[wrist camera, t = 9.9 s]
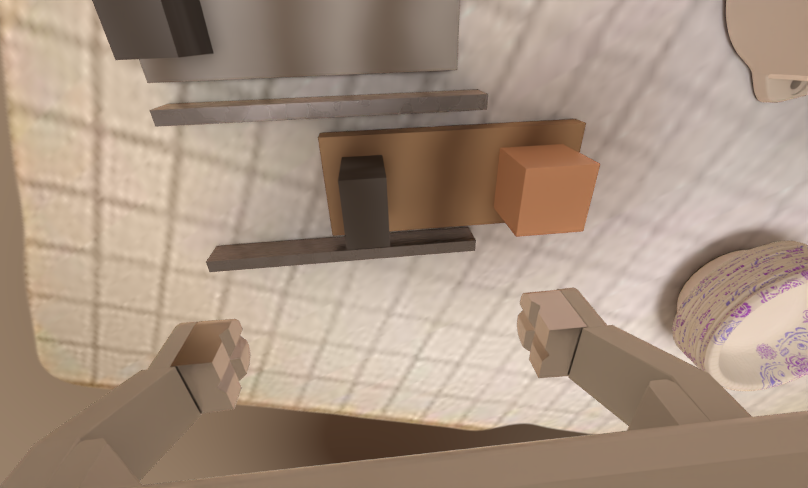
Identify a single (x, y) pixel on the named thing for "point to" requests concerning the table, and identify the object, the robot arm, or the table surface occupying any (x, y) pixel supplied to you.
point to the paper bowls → (748, 317)
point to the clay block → (544, 189)
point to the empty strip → (280, 37)
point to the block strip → (423, 175)
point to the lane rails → (327, 108)
